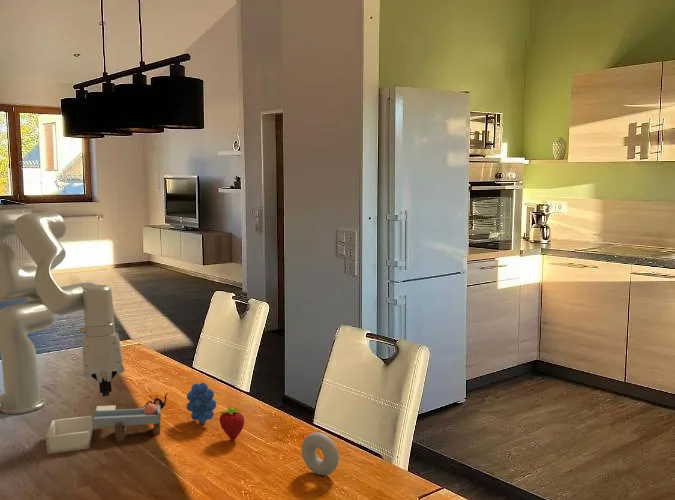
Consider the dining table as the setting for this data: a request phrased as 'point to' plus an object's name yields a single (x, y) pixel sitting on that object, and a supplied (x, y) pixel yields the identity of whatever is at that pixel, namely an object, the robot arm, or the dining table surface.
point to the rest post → (156, 429)
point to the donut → (326, 447)
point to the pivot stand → (120, 432)
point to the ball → (150, 409)
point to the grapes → (201, 402)
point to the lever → (123, 416)
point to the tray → (69, 434)
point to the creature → (157, 402)
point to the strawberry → (232, 422)
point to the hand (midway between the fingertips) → (106, 394)
